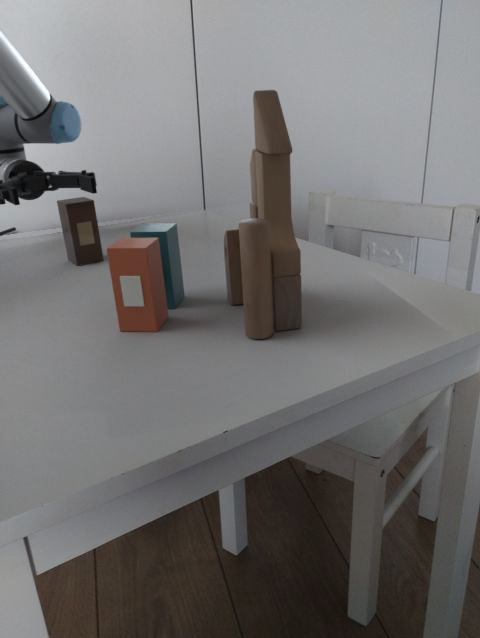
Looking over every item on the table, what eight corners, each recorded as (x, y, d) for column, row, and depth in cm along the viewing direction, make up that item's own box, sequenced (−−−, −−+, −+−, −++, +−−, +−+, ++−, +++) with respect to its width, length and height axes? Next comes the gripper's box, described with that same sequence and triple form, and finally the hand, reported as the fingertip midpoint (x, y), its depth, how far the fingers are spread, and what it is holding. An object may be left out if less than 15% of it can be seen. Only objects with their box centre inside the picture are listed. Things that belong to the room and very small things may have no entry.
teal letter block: (152, 296, 78) (142, 223, 74) (184, 296, 77) (176, 223, 73) (140, 309, 74) (129, 232, 69) (175, 309, 73) (165, 231, 69)
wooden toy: (224, 297, 76) (209, 92, 66) (273, 291, 78) (265, 89, 67) (248, 342, 63) (233, 92, 52) (307, 334, 64) (303, 88, 53)
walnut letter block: (68, 260, 97) (56, 200, 93) (94, 255, 99) (83, 196, 95) (77, 266, 93) (66, 204, 89) (104, 260, 96) (94, 200, 92)
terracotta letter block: (133, 316, 71) (121, 237, 67) (168, 317, 71) (158, 237, 66) (119, 331, 67) (105, 248, 63) (156, 332, 66) (145, 248, 62)
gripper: (86, 189, 123) (126, 201, 107) (-39, 207, 110) (-14, 224, 95) (79, 152, 120) (119, 160, 104) (-50, 167, 107) (-26, 178, 91)
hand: (56, 191), depth 99 cm, fingers open, 13 cm apart
